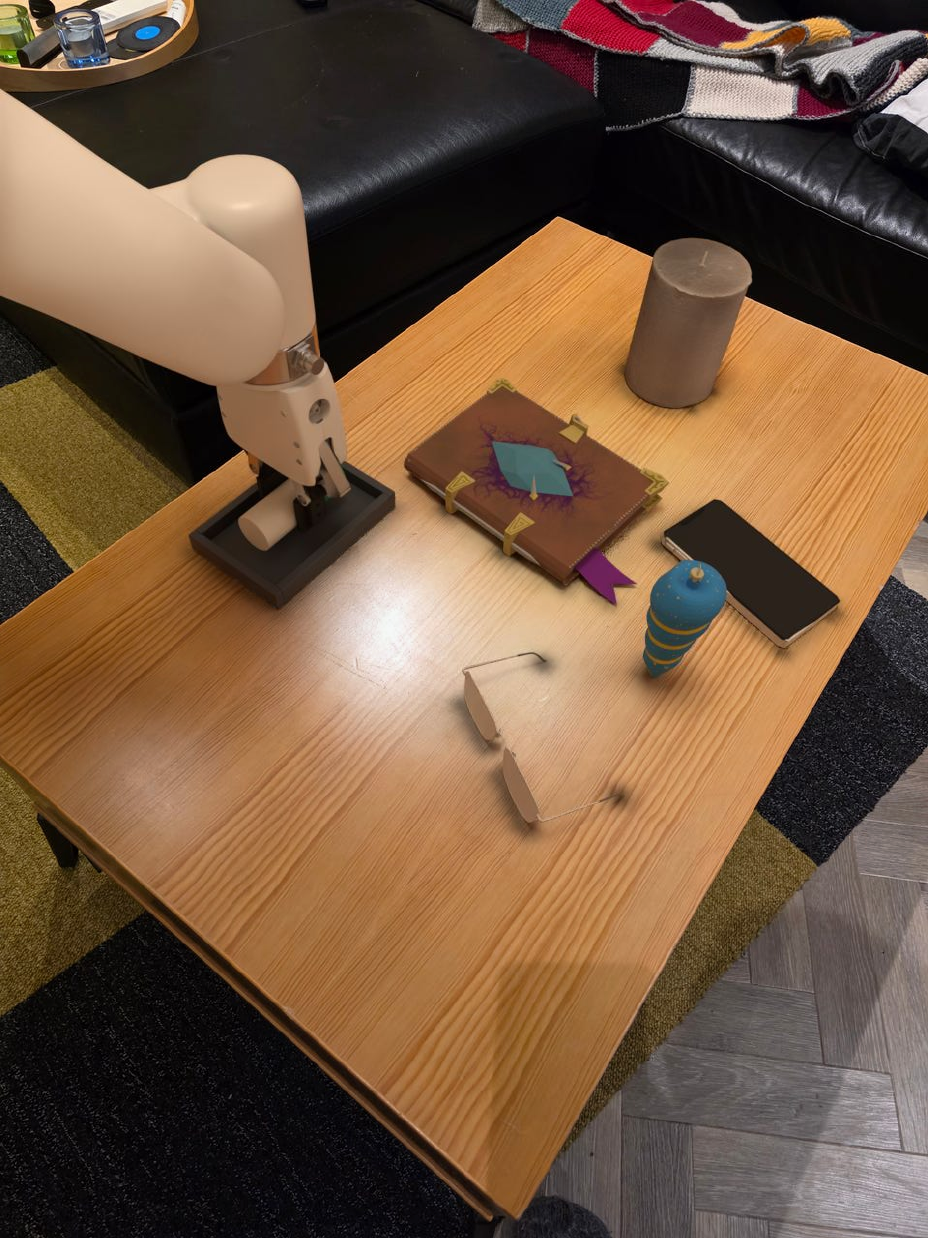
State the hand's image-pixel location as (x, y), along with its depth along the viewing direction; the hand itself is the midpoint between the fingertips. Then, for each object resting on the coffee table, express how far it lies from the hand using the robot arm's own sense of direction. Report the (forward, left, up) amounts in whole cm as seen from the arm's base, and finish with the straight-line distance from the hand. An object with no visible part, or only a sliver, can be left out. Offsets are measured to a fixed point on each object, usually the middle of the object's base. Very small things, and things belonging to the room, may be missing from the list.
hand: (294, 509), depth 79 cm
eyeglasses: (-4, -30, -3) cm, 30 cm away
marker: (0, -1, -1) cm, 1 cm away
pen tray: (0, 0, -2) cm, 2 cm away
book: (+18, -16, -3) cm, 24 cm away
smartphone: (+22, -35, -3) cm, 41 cm away
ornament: (+7, -34, -3) cm, 35 cm away
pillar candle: (+41, -16, -3) cm, 44 cm away
